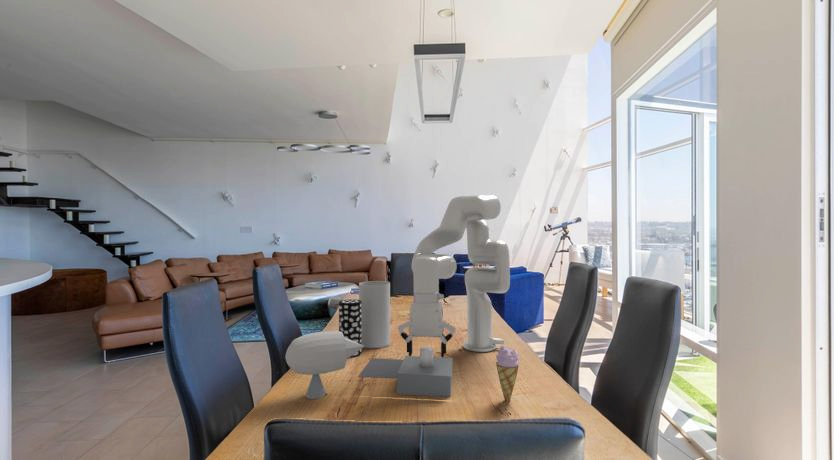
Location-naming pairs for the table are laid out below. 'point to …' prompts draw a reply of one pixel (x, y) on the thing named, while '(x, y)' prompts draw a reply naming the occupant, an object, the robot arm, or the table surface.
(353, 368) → the table surface
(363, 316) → the cylinder vase
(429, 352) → the lid
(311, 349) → the jet engine
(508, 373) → the ice cream cone
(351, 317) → the spotted tube
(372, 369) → the rubber mat
